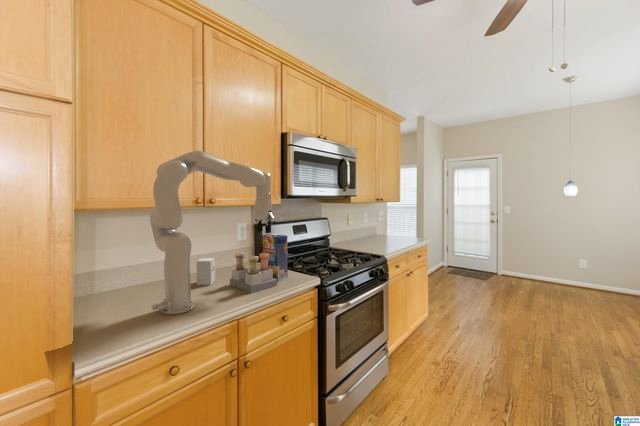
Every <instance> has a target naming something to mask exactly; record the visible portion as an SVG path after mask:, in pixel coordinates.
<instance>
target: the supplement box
mask: <svg viewBox="0 0 640 426" xmlns="http://www.w3.org/2000/svg"><path fill="white" fill-rule="evenodd" d="M215 260H216V258H213V257H207V258H205V257H203V258H200V259H198V260H197V261H196V286H212V285H213V283H214V282H215V281H216V262H215Z"/></svg>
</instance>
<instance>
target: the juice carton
mask: <svg viewBox="0 0 640 426" xmlns="http://www.w3.org/2000/svg"><path fill="white" fill-rule="evenodd" d="M262 253H268V254H269V257H268V268H269V269H273V278H274V279H277V282H279V281H282V280H283V281H284V280H286V279H288V268H289V267H288V266H289V265H288V235H285V234H277V233H267V234H263V235H262Z"/></svg>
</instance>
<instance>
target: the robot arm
mask: <svg viewBox="0 0 640 426" xmlns="http://www.w3.org/2000/svg"><path fill="white" fill-rule="evenodd" d="M194 172H200V173H204V174H207V175H211V176H213V177H215V178H219V179H222V180H227V181H239V183H240V185H241V186H243V187H245V188H255V200H254V210H253V218H254V220H255V223H256V232H257V233H259V232H260V233H261V232H263V230H265V231H264V233H265V234H272V225H273V222H274V220H275V216H274V213H273V202H272V176H271V173H270V172H262V171H260V170H259V169H255V168H254V167H250V166H247V165H245V164H241V163H237V162H233V161H230V160H226V159H223V158H222V157H219V156H216V155H213V154H211V153H208V152H206V151H203V150H193V151H189V152H187V153H184V154H182V155H179V156H177V157H175V158H173V159H169V160H167V161H164V162H163V163H161V164H159V165H158V167H157V169H156V178H155V179H154V182H153V186H152V187H153V188H152V191H153V192H152V193H153V198H154V199H153V200H154V205H155V207H154V208H153V209H152V210H151V211H150V215H149V221H150V222H149V223H150V226H151V230H152V235H153V240H154V243H155V245H156V247H157V249H158V250H159V251H161V252H163V253H164V260H163V274H164V275H163V276H164V277H163V278H164V280H163V281H164V298H162V301H161V302H159V303H155V304H152V305H151V310H152V311H154V310H157V311H160V312H161V313H162V314H164V315H179V314H180V315H181V314H184V313H187V312H190V311H192V310H193V309H195V307H196V302H195V301H193V300H192V293H191V290H192V287H191V254H192V253H191V252H192V241H191V238H190V237H189V236H188V235H187V234H185V233H183V232H180V231H178V228H180V227H181V226H182V225H183V221H184V216H183V212H182V208H181V203H180V197H179V187H180V185H181V184H182V182H184V180H186V178H187V177H188V175H190V174H192V173H194ZM263 221H264V222H265V227H264V224H263Z"/></svg>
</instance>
